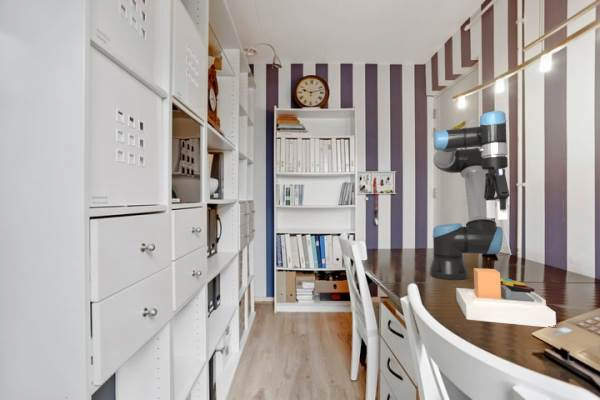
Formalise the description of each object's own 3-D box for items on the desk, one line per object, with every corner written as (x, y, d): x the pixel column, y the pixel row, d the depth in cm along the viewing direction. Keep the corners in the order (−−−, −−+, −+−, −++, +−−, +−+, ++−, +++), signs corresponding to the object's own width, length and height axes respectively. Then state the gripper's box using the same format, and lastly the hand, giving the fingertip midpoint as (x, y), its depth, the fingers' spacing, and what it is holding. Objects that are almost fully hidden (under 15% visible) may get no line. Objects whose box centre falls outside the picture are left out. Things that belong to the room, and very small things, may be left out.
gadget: (535, 303, 97) (538, 287, 97) (489, 293, 102) (491, 277, 102) (528, 297, 103) (530, 282, 103) (485, 288, 108) (487, 274, 108)
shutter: (499, 295, 89) (499, 284, 89) (525, 296, 87) (525, 286, 87) (506, 301, 83) (506, 290, 83) (534, 303, 81) (533, 291, 81)
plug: (475, 307, 91) (473, 268, 92) (496, 309, 89) (494, 269, 90) (479, 313, 86) (477, 271, 86) (501, 315, 84) (500, 273, 84)
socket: (456, 300, 98) (455, 283, 99) (528, 305, 92) (527, 287, 92) (466, 319, 81) (466, 298, 82) (556, 328, 75) (555, 305, 75)
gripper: (473, 163, 115) (475, 217, 114) (491, 151, 91) (493, 220, 91) (496, 161, 112) (498, 217, 111) (520, 149, 89) (522, 220, 88)
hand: (496, 219), depth 101 cm, fingers open, 13 cm apart
